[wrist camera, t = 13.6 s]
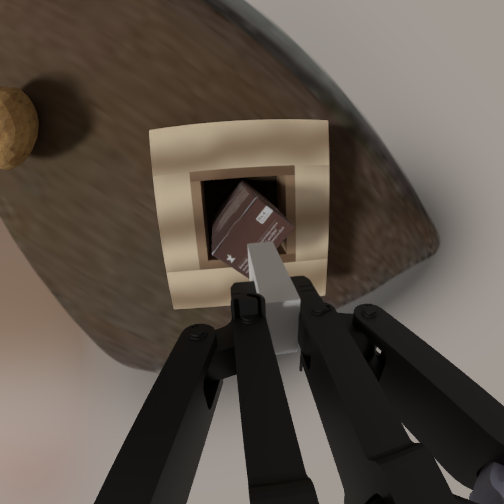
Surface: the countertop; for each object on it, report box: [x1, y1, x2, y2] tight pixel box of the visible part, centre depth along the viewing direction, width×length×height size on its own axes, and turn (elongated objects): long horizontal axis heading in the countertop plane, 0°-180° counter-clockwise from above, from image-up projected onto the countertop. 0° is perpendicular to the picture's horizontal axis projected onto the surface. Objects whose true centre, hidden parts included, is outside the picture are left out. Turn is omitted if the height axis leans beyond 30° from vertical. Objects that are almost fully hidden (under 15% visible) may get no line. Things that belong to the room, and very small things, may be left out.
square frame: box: [149, 119, 329, 309], centre depth 31 cm, size 20×18×5 cm
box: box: [212, 180, 294, 279], centre depth 28 cm, size 6×4×12 cm
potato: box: [0, 87, 39, 170], centre depth 22 cm, size 10×14×8 cm
